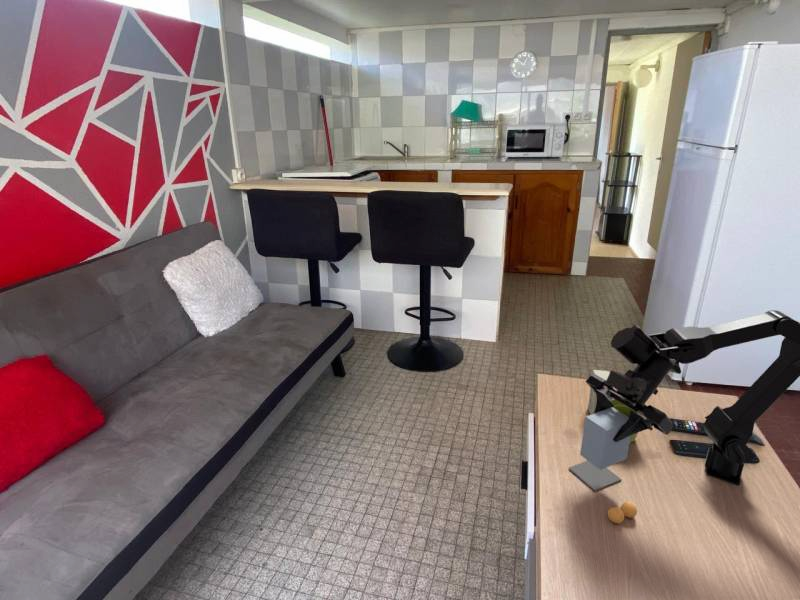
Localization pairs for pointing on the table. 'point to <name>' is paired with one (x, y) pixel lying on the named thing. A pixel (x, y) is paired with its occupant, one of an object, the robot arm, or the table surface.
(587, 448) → the grey rectangular block
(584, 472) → the pad
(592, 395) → the skincare box
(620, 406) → the plant pot
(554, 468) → the table surface
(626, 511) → the ball
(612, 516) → the ball
